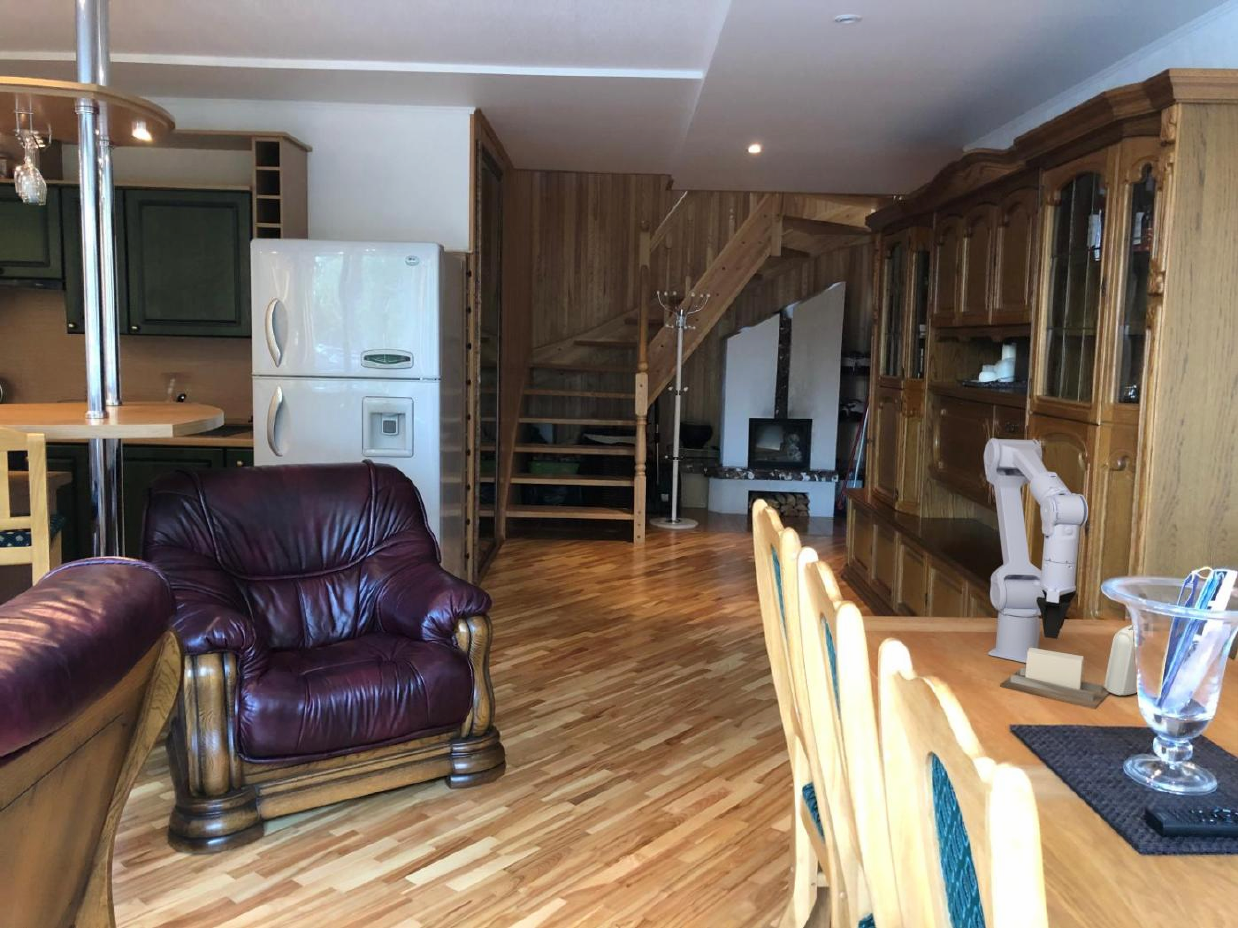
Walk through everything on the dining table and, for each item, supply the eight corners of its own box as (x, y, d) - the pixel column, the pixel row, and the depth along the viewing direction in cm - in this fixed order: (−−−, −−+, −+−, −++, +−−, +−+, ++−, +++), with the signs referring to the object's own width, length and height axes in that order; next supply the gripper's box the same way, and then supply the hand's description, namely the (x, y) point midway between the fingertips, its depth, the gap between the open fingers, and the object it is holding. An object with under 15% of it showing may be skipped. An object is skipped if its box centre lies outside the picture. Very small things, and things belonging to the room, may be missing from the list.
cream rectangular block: (1027, 678, 181) (1029, 647, 180) (1080, 688, 176) (1083, 656, 175) (1024, 683, 178) (1027, 651, 177) (1079, 693, 173) (1081, 660, 173)
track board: (1020, 670, 186) (1021, 662, 186) (1112, 691, 176) (1112, 682, 176) (999, 686, 177) (1000, 677, 177) (1094, 708, 167) (1095, 699, 167)
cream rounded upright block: (1130, 681, 181) (1142, 617, 179) (1153, 690, 178) (1166, 625, 176) (1099, 689, 176) (1111, 623, 173) (1122, 698, 172) (1135, 631, 170)
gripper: (1040, 550, 186) (1034, 620, 187) (1030, 564, 173) (1024, 638, 175) (1081, 555, 182) (1075, 626, 184) (1074, 569, 170) (1067, 645, 171)
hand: (1053, 632), depth 179 cm, fingers open, 7 cm apart
